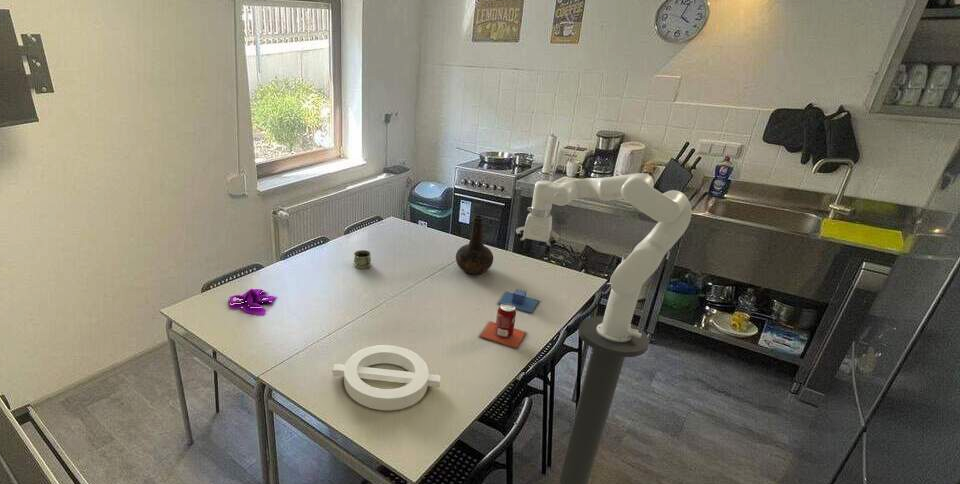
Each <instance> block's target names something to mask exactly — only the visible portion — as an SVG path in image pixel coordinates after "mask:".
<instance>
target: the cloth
mask: <svg viewBox="0 0 960 484" xmlns="http://www.w3.org/2000/svg"><path fill="white" fill-rule="evenodd" d="M262 291H264V290H263V289H261V288H250V289H249V290H248V291H247V292H244V293H243V294H236V295H230V296H229V297H228V302H229V301H230V303H231V304H233V303H241V302H244V303H241V304H234V305H230V304H229V303H228V306H229V308H230V309H231V310H241V311H242V312H243V313H245V314H247V315H255V316H265V314H266V312H267V309H266V308H264V307H263V306H272V304H273V303H274V301H275V300H276V296H274V295H267V292H266V291H264V292H262ZM261 292H262V293H261ZM260 293H261V294H260ZM234 297H236V298H239V299H243V300H241V301H239V300H236V301H233V298H234ZM274 297H275V298H274ZM229 298H230V300H229ZM263 298H268V299H266V300H262V299H263ZM273 299H274V300H273ZM245 301H247V302H245ZM269 301H272V302H269ZM262 302H263V303H262ZM248 305H249V306H248ZM261 306H262V308H250V307H261ZM241 307H243V308H241Z"/></svg>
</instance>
